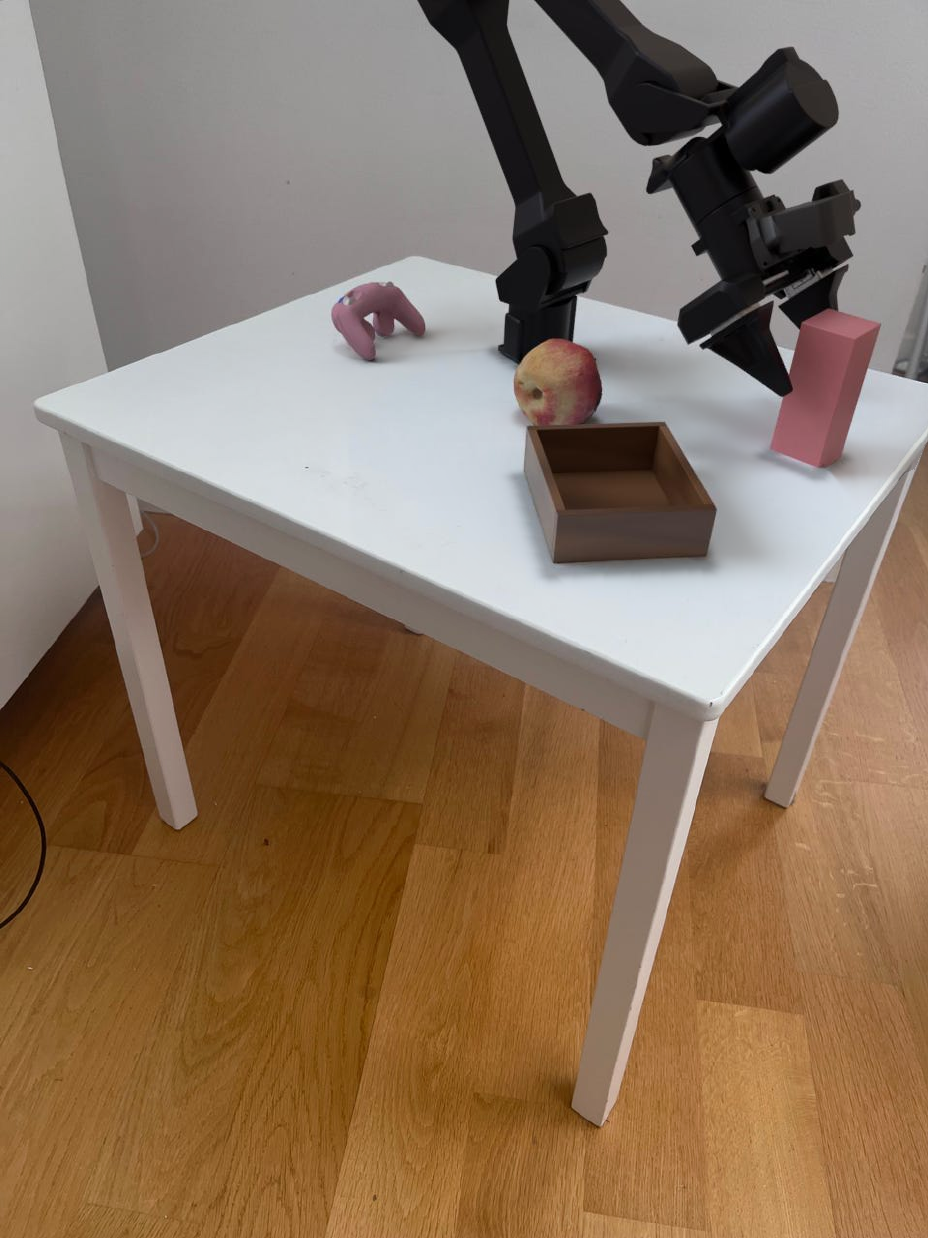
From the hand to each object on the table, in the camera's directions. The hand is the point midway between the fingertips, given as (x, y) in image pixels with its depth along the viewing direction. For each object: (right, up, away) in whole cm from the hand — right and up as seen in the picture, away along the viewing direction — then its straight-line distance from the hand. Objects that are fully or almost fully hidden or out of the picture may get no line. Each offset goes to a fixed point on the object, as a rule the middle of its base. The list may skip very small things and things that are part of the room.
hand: (814, 377), depth 78 cm
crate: (-18, -12, -5) cm, 22 cm away
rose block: (+1, -6, +4) cm, 7 cm away
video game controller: (-38, +9, +22) cm, 45 cm away
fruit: (-21, -3, +7) cm, 22 cm away
